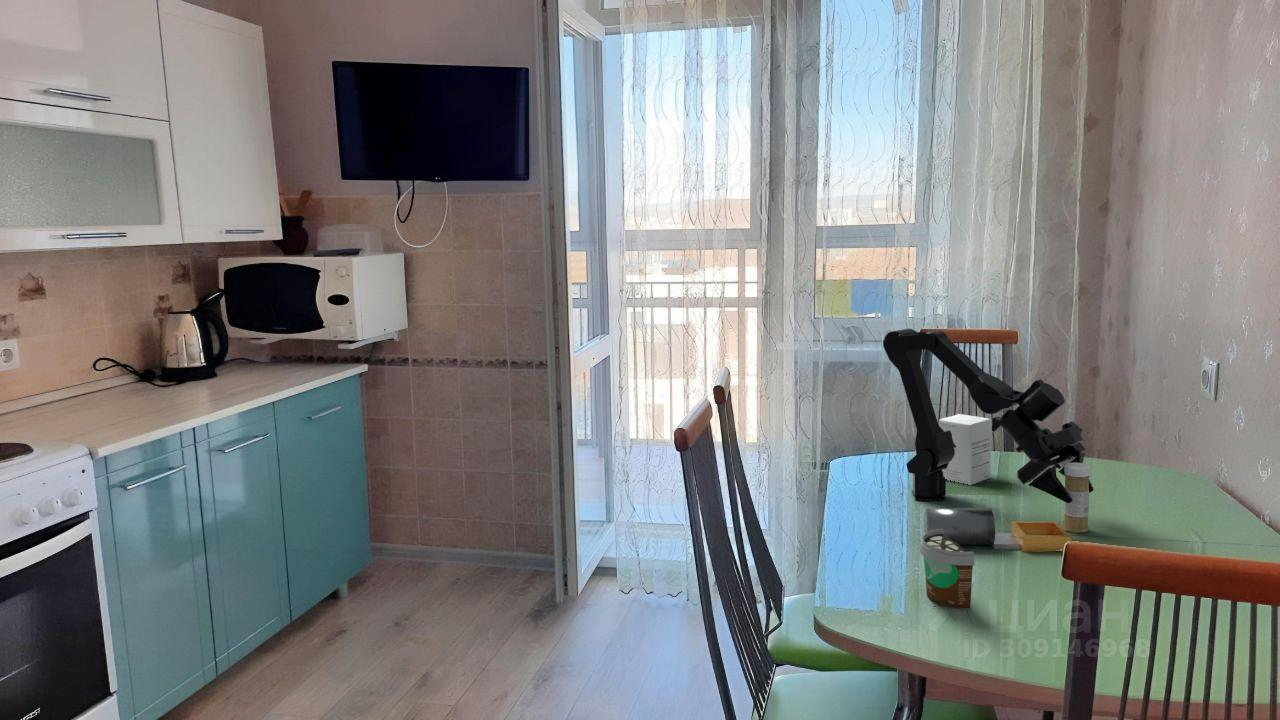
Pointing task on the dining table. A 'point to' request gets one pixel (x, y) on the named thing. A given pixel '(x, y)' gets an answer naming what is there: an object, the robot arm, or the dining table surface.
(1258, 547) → the dining table surface
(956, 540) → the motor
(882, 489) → the dining table surface
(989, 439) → the supplement box
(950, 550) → the food container
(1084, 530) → the sprinkles bottle
